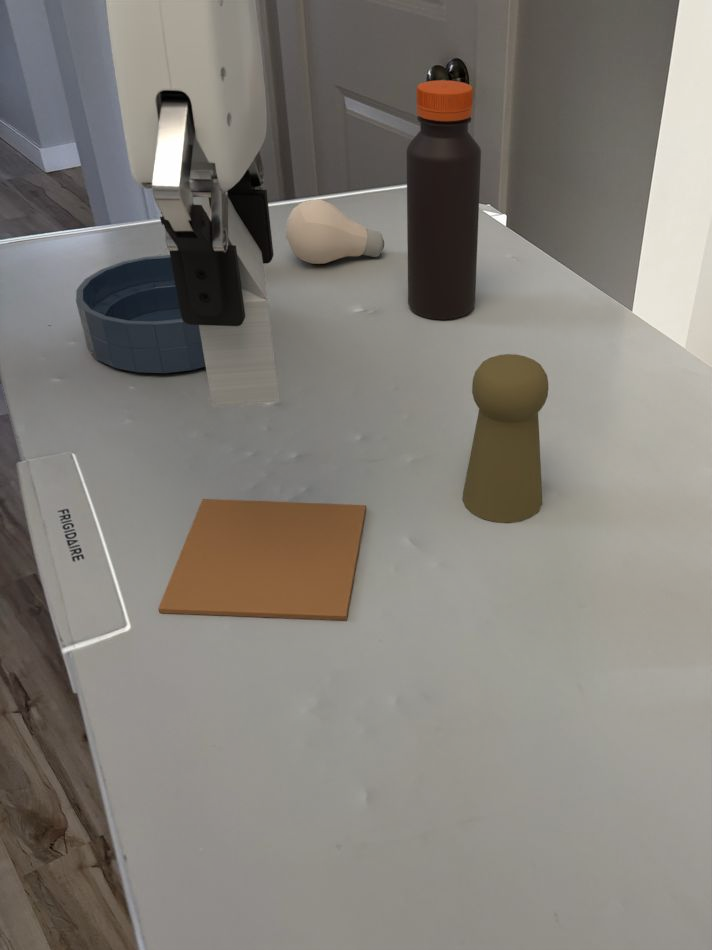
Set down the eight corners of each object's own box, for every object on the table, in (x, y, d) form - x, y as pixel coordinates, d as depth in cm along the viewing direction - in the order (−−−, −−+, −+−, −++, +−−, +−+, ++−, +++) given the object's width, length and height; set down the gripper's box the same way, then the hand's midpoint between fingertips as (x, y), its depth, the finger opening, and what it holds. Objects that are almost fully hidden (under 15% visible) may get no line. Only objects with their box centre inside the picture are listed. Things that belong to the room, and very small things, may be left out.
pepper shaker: (458, 476, 71) (462, 343, 64) (536, 474, 72) (549, 342, 64) (466, 524, 67) (471, 387, 60) (549, 521, 67) (564, 384, 60)
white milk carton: (272, 346, 57) (253, 177, 51) (278, 401, 53) (258, 221, 46) (211, 351, 57) (184, 180, 50) (212, 406, 52) (182, 225, 45)
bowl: (65, 374, 82) (50, 320, 79) (117, 301, 93) (106, 252, 90) (236, 380, 82) (228, 327, 79) (268, 306, 93) (262, 257, 90)
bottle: (487, 303, 95) (498, 85, 82) (451, 327, 91) (457, 101, 77) (431, 287, 98) (433, 73, 84) (394, 310, 93) (390, 88, 80)
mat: (159, 613, 59) (158, 608, 59) (203, 503, 68) (202, 498, 68) (346, 620, 59) (346, 616, 59) (366, 509, 68) (366, 504, 68)
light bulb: (386, 202, 103) (289, 180, 98) (398, 235, 99) (297, 214, 94) (370, 255, 107) (276, 236, 103) (380, 288, 103) (283, 270, 99)
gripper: (144, -130, 46) (200, 230, 58) (6, -92, 33) (115, 362, 45) (295, -126, 46) (321, 234, 58) (216, -86, 33) (270, 368, 45)
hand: (231, 288), depth 51 cm, fingers closed on white milk carton, 7 cm apart
